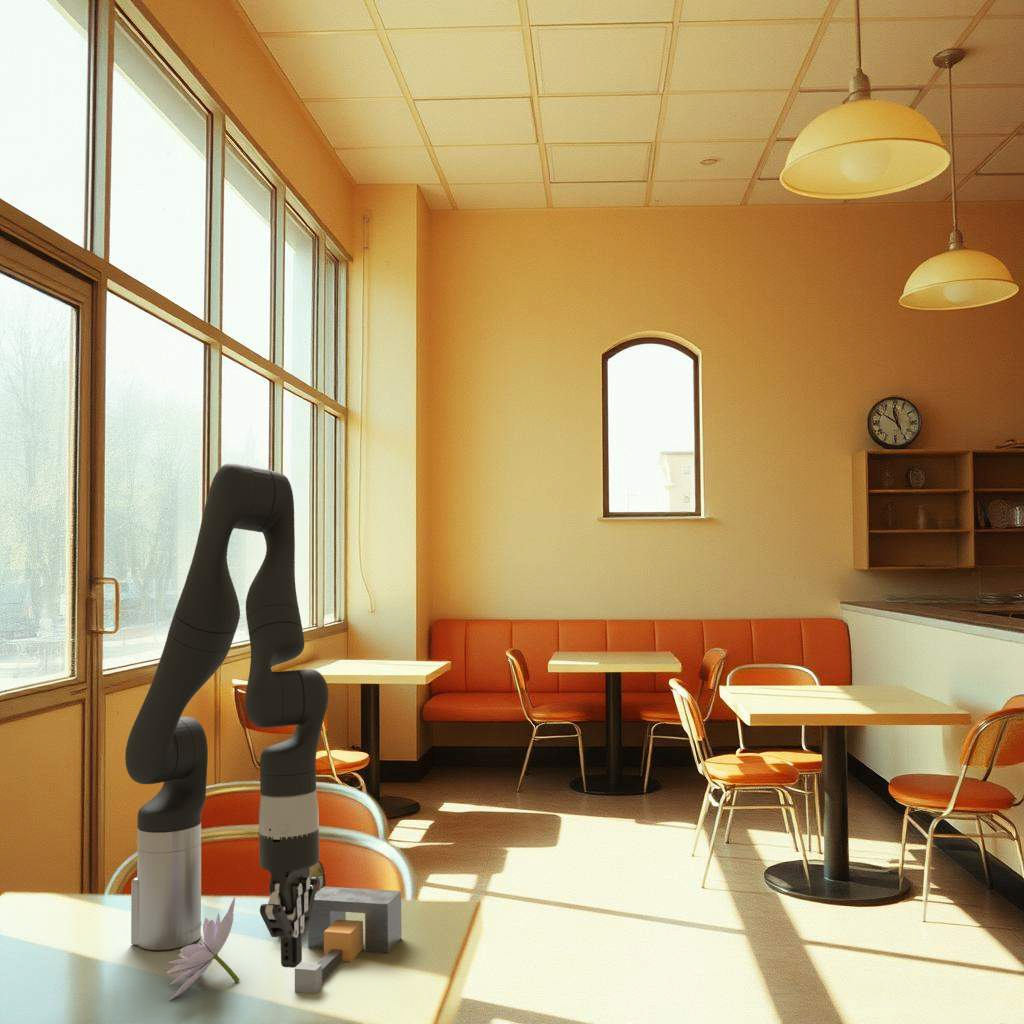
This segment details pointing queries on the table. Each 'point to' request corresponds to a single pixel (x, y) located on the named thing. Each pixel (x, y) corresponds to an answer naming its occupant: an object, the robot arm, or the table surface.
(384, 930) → the housing
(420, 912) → the table surface
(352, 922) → the plug
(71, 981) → the table surface
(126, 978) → the table surface
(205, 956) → the water lily
